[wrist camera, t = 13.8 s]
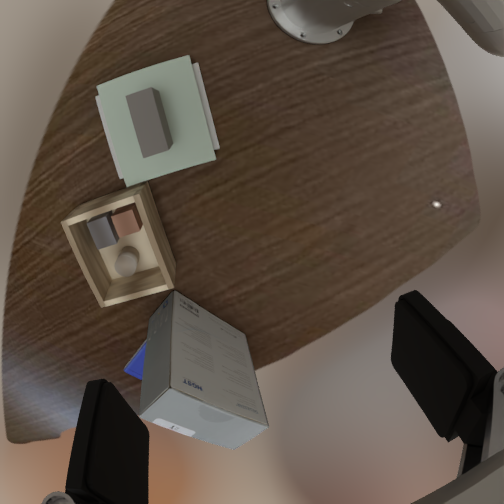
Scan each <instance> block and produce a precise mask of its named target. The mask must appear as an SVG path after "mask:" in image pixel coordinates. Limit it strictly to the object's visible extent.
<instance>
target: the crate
mask: <svg viewBox="0 0 504 504" xmlns="http://www.w3.org/2000/svg"><path fill="white" fill-rule="evenodd" d="M61 224H62V226H63V229H64V231H65V233H66V236H67V238H68V240H69V243H70V245H71V247H72V249H73V251H74V254H75V256H76V258H77V260H78V262H79V264H80V267H81V269H82V271H83V273H84V275H85V277H86V279H87V281H88V283H89V285H90V287H91V289H92V291H93V293H94V295H95V297H96V299H97V301H98V302H99V304H100V306H101V308H102V307H105V306H109V305H113V304H117V303H120V302H124V301H128V300H131V299H135V298H139V297H142V296H146V295H150V294H154V293H157V292H161V291H164V290H168V289H172V288H174V285H175V273H176V261H175V258H174V256H173V253H172V250H171V247H170V245H169V242H168V239H167V236H166V234H165V231H164V228H163V225H162V222H161V219H160V216H159V213H158V211H157V208H156V205H155V202H154V199H153V196H152V193H151V190H150V187H149V183H148V181H145V182H142V183H139V184H136V185H133V186H130V187H127V188H124V189H121V190H119V191H116V192H113V193H110V194H107V195H105V196H102V197H99V198H96V199H94V200H91V201H88V202H86V203H83V204H81V205H78V206H77V207H76V208H75V209H74V210H73V211H72V212H71V213H70V214H69V215H68V216H67V217H66V218H65V219H64V220H63V221H61Z"/></svg>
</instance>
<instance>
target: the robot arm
mask: <svg viewBox="0 0 504 504" xmlns="http://www.w3.org/2000/svg"><path fill="white" fill-rule="evenodd" d="M400 1H401V0H267V5H268V10H269V13H270V15H271V17H272V19H273V20H274V22H275V23H276V24H277V26H278V27H279V28H280V29H281V30H282V31H284V32H285V33H286V34H288V35H289V36H291V37H293V38H295V39H296V40H299V41H302V42H305V43H309V44H327V43H331V42H334V41H336V40H338V39H340V38H342V37H343V36H344V35H346V34H347V33H348V31H349V30H350V29H351V27H352V25H353V23H354V20H356V19H359V18H361V17H363V16H366V15H368V14H381V13H382V10H383V8H385V7H388V6H390V5H393V4H395V3H398V2H400ZM437 1H438V2H439V3H440V4H441V5H442V6H443V7H444V8H445V9H446V10H447V11H448V12H449V14H450V15H451V16H452V17H453V18H454V19H455V20H456V21H457V23H458V24H459V25H460V26H461V27H462V28H463V29H464V30H465V32H466V33H467V34H468V35H469V36H470V37H471V38H472V40H473V41H474V42H475V43H476V44H478V46H480V47H481V48H482V49H484V50H485V51H487V52H488V53H490V54H493V55H496V56H500V57H504V0H437ZM273 7H275V8H276V9H274V8H273ZM337 32H338V33H339V34H338V33H337ZM300 34H301V35H302V36H303V37H301V36H300ZM391 362H392V365H393V367H394V369H395V370H396V372H397V373H398V374H399V376H400V377H401V379H402V380H403V382H404V383H405V385H406V386H407V388H408V389H409V391H410V392H411V394H412V395H413V397H414V398H415V400H416V401H417V403H418V404H419V406H420V407H421V409H422V410H423V412H424V413H425V415H426V416H427V418H428V420H429V421H430V423H431V424H432V426H433V427H434V429H435V430H436V432H437V434H438V435H439V436H440V437H445V438H446V440H447V441H448V442H450V441H451V440H453V439H455V438H456V437H458V436H459V437H460V438H461V440H462V441H463V443H464V445H463V450H462V456H461V461H460V466H459V470H458V474H457V478H456V479H455V480H453V481H452V482H450V483H448V484H446V485H445V486H443V487H441V488H439V489H437V490H436V491H434V492H432V493H430V494H428V495H426V496H425V497H423V498H421V499H419V500H417V501H415V502H413V503H411V504H504V368H502V369H501V370H500V371H498V372H497V371H496V370H495V368H494V367H493V366H492V365H491V364H490V363H489V362H488V361H487V360H486V358H485V357H484V356H483V355H482V354H481V353H480V352H479V351H478V350H477V349H476V348H475V347H474V346H473V344H472V343H471V342H470V341H469V340H468V339H467V338H466V337H465V336H464V335H463V334H462V333H461V332H460V331H459V330H458V329H457V328H456V327H455V326H454V325H453V324H452V323H451V322H450V321H449V320H447V319H446V318H445V317H444V316H443V315H442V314H441V313H440V312H439V311H438V310H437V309H436V308H435V307H434V306H433V305H432V304H431V303H430V302H429V301H428V300H427V299H426V298H425V297H424V296H423V295H421V294H420V293H419V292H418V291H417V290H414V291H411V292H409V293H406V294H404V295H401V296H400V297H399V300H398V302H396V304H395V314H394V329H393V342H392V352H391ZM148 460H149V431H148V429H147V427H146V425H145V424H144V423H143V422H142V421H141V419H140V418H139V417H138V416H137V415H136V413H135V412H134V411H133V410H132V408H131V407H130V406H129V405H128V403H127V402H126V401H125V399H124V398H123V397H122V395H121V394H120V393H119V391H118V390H117V389H116V387H115V386H114V385H113V384H112V383H111V382H108V381H107V380H105V379H99V380H93V381H89V382H88V383H87V385H86V389H85V393H84V397H83V401H82V405H81V409H80V413H79V418H78V422H77V426H76V431H75V436H74V441H73V446H72V451H71V457H70V462H69V468H68V474H67V480H66V486H65V488H66V490H65V493H64V492H59V491H58V492H53V493H51V494H49V495H47V496H46V498H44V500H43V502H42V504H148V465H149V461H148Z"/></svg>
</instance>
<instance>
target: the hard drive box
mask: <svg viewBox="0 0 504 504" xmlns="http://www.w3.org/2000/svg"><path fill="white" fill-rule="evenodd" d="M139 417H140V418H142V419H145V420H147V421H150V422H152V423H155V424H157V425H159V426H162V427H165V428H167V429H170V430H173V431H176V432H178V433H181V434H184V435H187V436H190V437H193V438H196V439H199V440H203V441H206V442H209V443H212V444H216V445H219V446H222V447H226V448H230V449H233V450H234V449H236V448H238V447H239V446H241V445H243V444H244V443H246V442H247V441H249V440H251V439H252V438H253V437H255V436H257V435H258V434H260V433H261V432H262V431H264V430H265V429H267V428H268V427H269V424H268V421H267V417H266V413H265V409H264V405H263V402H262V398H261V394H260V390H259V386H258V382H257V378H256V374H255V371H254V367H253V363H252V359H251V355H250V351H249V347H248V343H247V339H246V335H245V334H244V333H242V332H240V331H239V330H237V329H235V328H234V327H232V326H231V325H229V324H228V323H226V322H224V321H222V320H221V319H219V318H218V317H216V316H214V315H213V314H211V313H210V312H208V311H206V310H205V309H203V308H202V307H200V306H199V305H197V304H196V303H194V302H193V301H191V300H190V299H188V298H186V297H185V296H183V295H182V294H180V293H179V292H177V291H172V292H171V293H170V295H169V296H168V297H167V298H166V299H165V300H164V302H163V303H162V304H161V305H160V307H159V308H158V309H157V310H156V311H155V313H154V314H153V315H152V316H151V317H150V319H149V326H148V334H147V342H146V350H145V358H144V367H143V377H142V388H141V400H140V413H139Z"/></svg>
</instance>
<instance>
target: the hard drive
mask: <svg viewBox="0 0 504 504" xmlns="http://www.w3.org/2000/svg"><path fill="white" fill-rule="evenodd" d="M146 342H147V339H146V340H145V342H144V343H143V344H142V345H141V347H140V348H139V349H138V351H137V352H136V353H135V355H134V356H133V357H132V358H131V360H130V361H129V362H128V364H127V365H126V366H125V368H124V371H125V372H126V373H128V374H130V375H133V376H135V377H137V378H139V379H141V380H142V377H143V367H144V358H145V350H146Z"/></svg>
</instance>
